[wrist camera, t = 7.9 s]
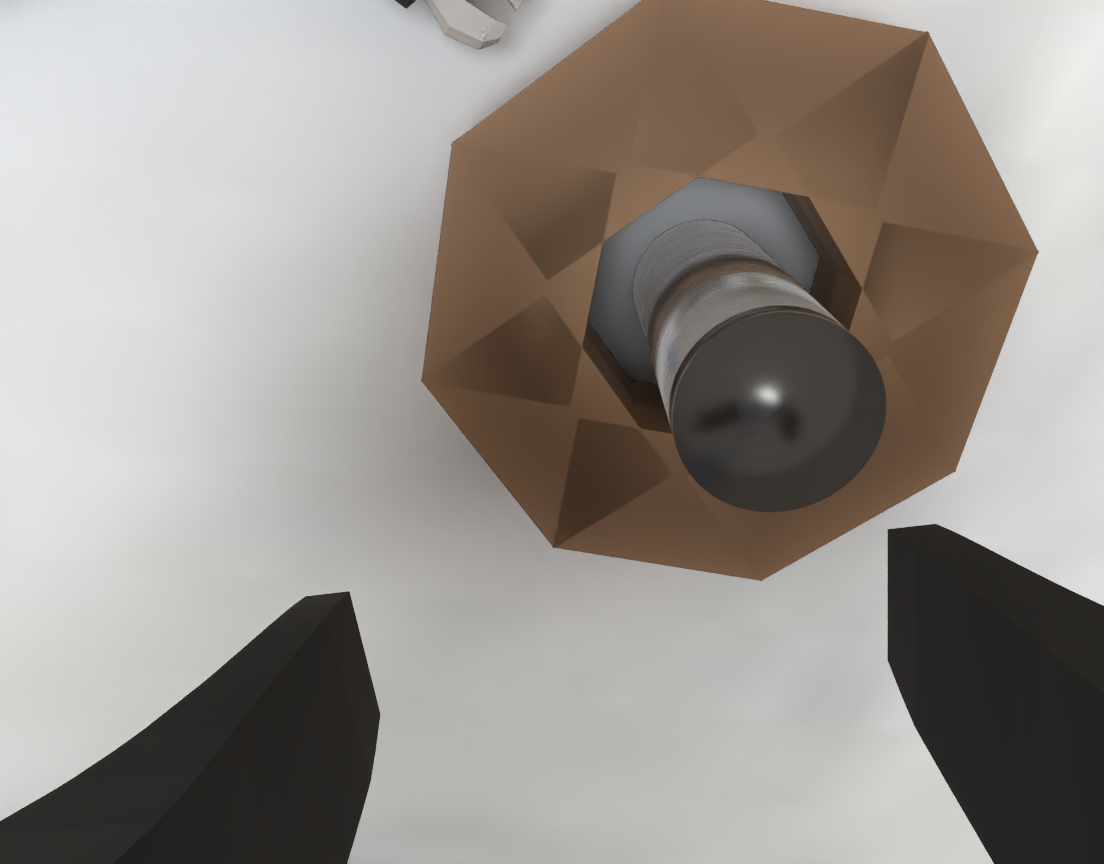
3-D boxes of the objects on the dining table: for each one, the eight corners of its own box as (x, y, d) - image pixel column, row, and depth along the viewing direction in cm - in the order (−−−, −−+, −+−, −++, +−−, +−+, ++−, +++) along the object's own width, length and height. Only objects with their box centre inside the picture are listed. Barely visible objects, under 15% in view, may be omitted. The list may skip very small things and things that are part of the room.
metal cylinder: (680, 376, 21) (743, 547, 14) (606, 272, 20) (631, 394, 13) (793, 302, 20) (924, 440, 13) (722, 191, 19) (819, 270, 12)
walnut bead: (626, 581, 23) (635, 652, 20) (349, 221, 20) (314, 246, 17) (1033, 342, 21) (1106, 386, 18) (793, -116, 17) (838, -149, 14)
